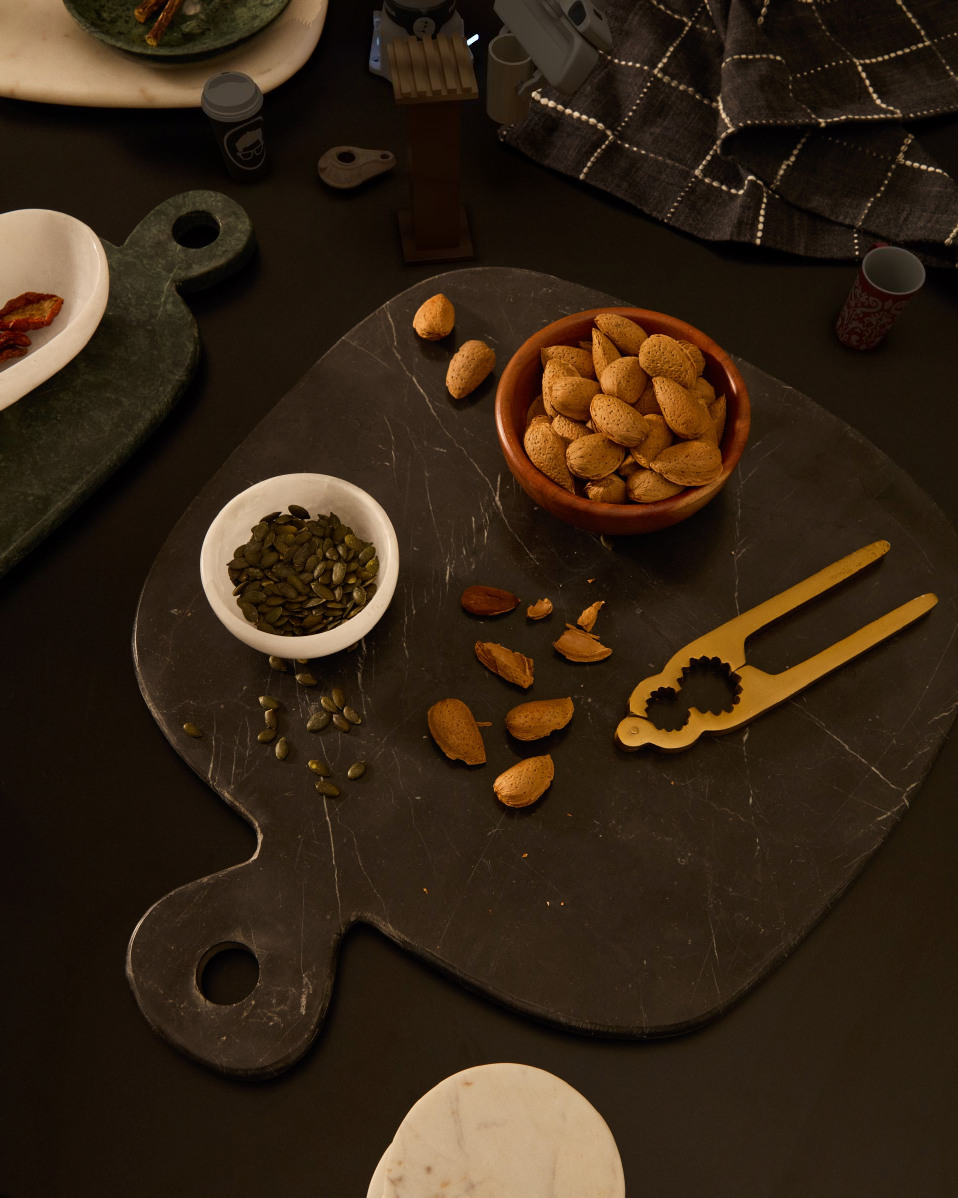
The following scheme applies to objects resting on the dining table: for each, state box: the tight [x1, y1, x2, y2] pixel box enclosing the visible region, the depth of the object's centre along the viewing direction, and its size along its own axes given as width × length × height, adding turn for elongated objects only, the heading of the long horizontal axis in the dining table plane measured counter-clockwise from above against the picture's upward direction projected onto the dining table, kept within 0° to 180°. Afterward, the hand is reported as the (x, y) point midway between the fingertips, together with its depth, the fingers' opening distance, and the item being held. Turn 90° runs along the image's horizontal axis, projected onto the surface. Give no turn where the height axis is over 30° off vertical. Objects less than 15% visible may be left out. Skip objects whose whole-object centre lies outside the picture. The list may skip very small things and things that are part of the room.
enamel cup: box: [485, 33, 535, 125], centre depth 145 cm, size 7×7×10 cm
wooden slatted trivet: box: [386, 32, 479, 106], centre depth 130 cm, size 11×11×2 cm
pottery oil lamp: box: [317, 145, 397, 190], centre depth 160 cm, size 9×12×7 cm
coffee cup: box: [200, 70, 269, 184], centre depth 156 cm, size 10×10×15 cm
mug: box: [834, 241, 927, 351], centre depth 146 cm, size 13×9×14 cm
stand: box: [396, 100, 475, 267], centre depth 144 cm, size 11×11×30 cm
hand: (506, 78), depth 145 cm, fingers closed on enamel cup, 7 cm apart
